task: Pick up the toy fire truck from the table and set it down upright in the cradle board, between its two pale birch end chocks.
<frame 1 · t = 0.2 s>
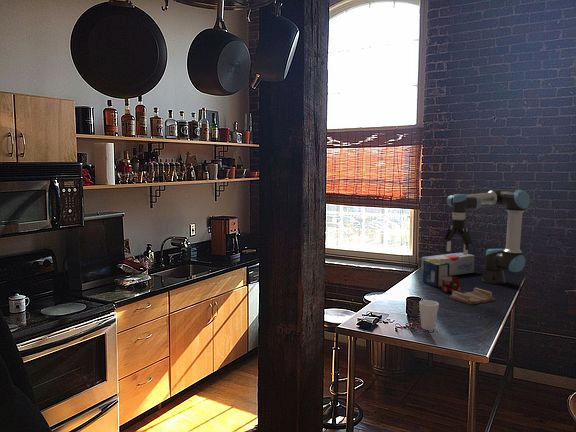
hand: (456, 253, 301), 26 cm above the table, tool pointing down, fingers open, 13 cm apart
toy fire truck: (450, 292, 310), on the table
protein box: (435, 284, 330), on the table
soda pack: (447, 274, 361), on the table
foam cup: (428, 328, 244), on the table
cradle: (471, 299, 295), on the table
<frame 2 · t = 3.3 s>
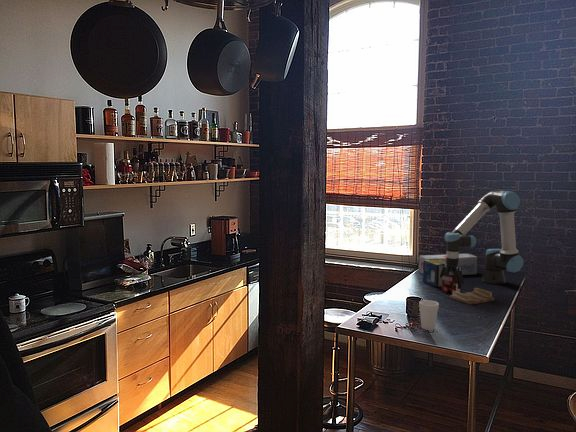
hand: (450, 291, 310), 1 cm above the table, tool pointing down, fingers closed on toy fire truck, 11 cm apart
toy fire truck: (450, 292, 310), on the table, touching gripper
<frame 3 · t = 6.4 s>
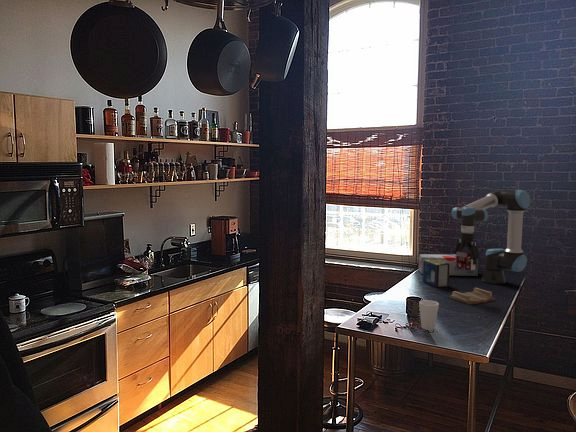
hand: (465, 267, 298), 18 cm above the table, tool pointing down, fingers closed on toy fire truck, 11 cm apart
toy fire truck: (465, 269, 298), point 17 cm above the table, touching gripper
when the fingers open (4 cm above the table, at t = 9.4 s): toy fire truck drops 2 cm, resting on cradle.
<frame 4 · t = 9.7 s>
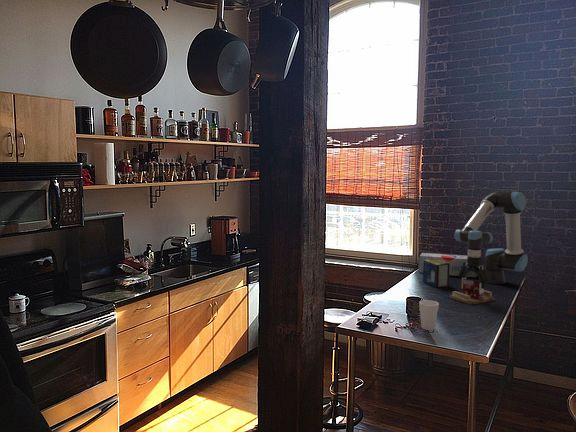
hand: (472, 290, 294), 5 cm above the table, tool pointing down, fingers open, 13 cm apart
toy fire truck: (472, 296, 295), point 1 cm above the table, touching cradle
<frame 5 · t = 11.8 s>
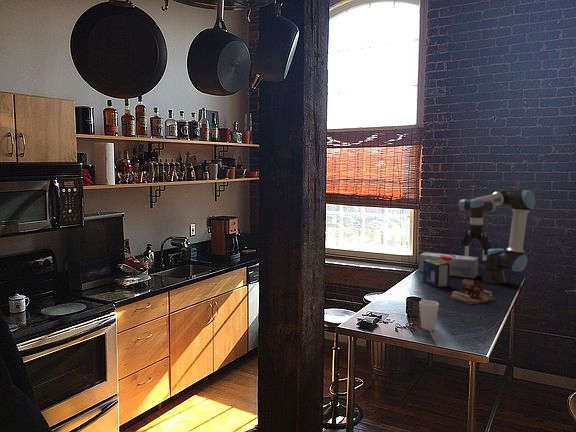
hand: (475, 258, 300), 24 cm above the table, tool pointing down, fingers open, 13 cm apart
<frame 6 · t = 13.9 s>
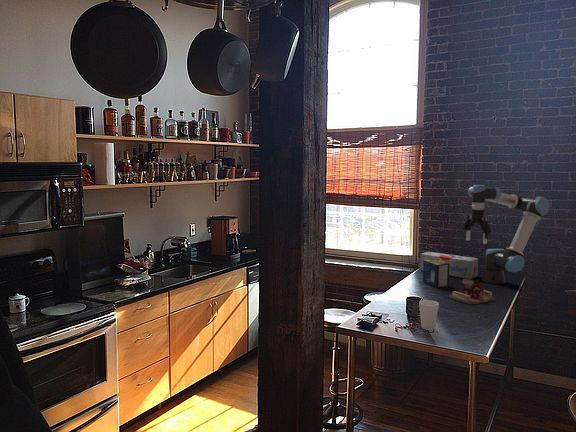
hand: (476, 242, 311), 32 cm above the table, tool pointing down, fingers open, 13 cm apart
at the end: toy fire truck 0.1 cm off-centre on the cradle, point 1.3 cm above the cradle's base; toy fire truck tilted 0°; the gripper is holding nothing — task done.
